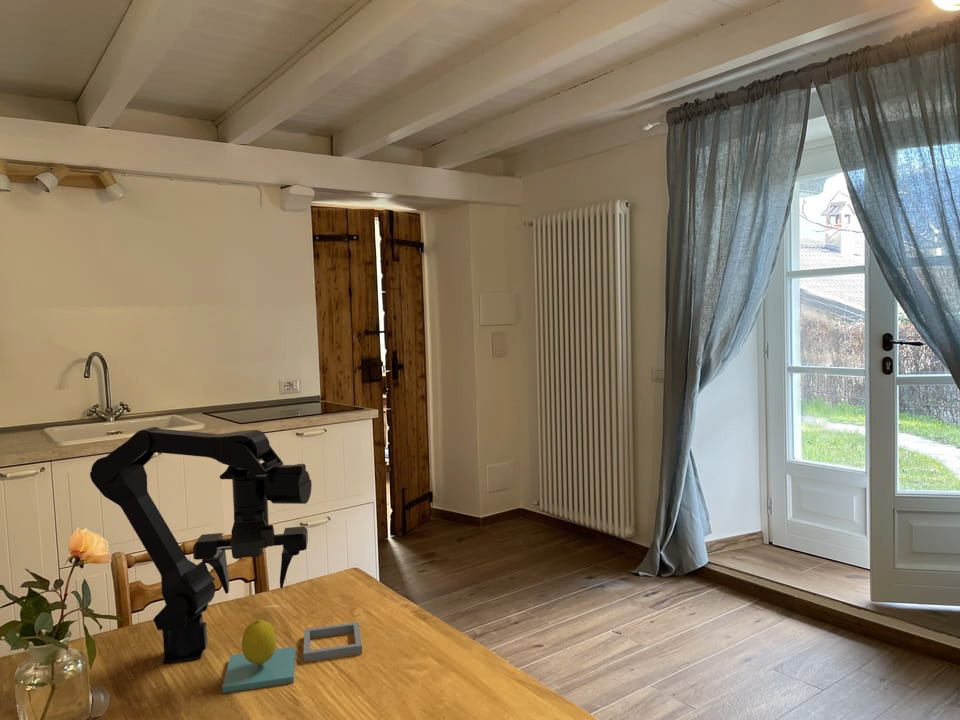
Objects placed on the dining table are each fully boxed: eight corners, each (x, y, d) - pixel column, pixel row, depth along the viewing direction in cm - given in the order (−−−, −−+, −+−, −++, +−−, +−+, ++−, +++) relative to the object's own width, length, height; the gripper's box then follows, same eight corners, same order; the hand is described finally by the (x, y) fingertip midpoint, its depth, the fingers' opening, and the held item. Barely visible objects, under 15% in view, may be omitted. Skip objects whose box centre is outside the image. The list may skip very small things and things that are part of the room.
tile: (222, 693, 110) (222, 687, 110) (230, 660, 121) (230, 655, 121) (293, 682, 113) (293, 676, 113) (295, 651, 124) (295, 646, 124)
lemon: (246, 677, 113) (243, 629, 113) (240, 662, 118) (238, 617, 118) (280, 668, 116) (278, 621, 115) (273, 654, 121) (271, 610, 120)
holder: (303, 662, 120) (303, 653, 120) (304, 637, 129) (304, 629, 129) (362, 653, 122) (361, 645, 122) (358, 629, 132) (358, 621, 132)
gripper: (183, 520, 112) (188, 614, 112) (302, 511, 115) (306, 602, 116) (198, 502, 122) (202, 588, 123) (306, 494, 126) (309, 578, 127)
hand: (254, 590), depth 122 cm, fingers open, 9 cm apart
